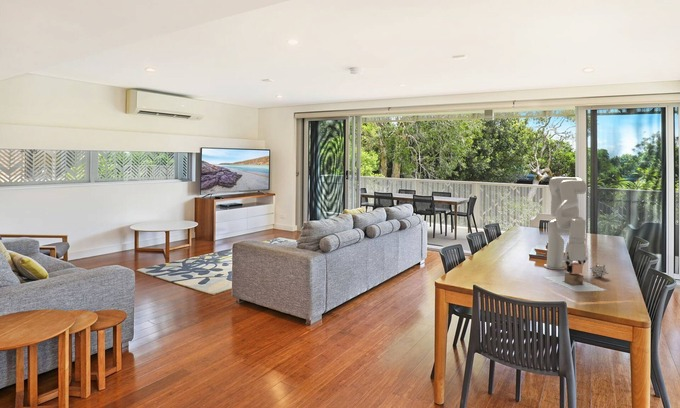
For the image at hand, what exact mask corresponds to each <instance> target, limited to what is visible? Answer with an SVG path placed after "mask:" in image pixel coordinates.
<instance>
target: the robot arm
mask: <svg viewBox="0 0 680 408" xmlns="http://www.w3.org/2000/svg"><path fill="white" fill-rule="evenodd" d="M548 188H549V191H550V195H551V201H550V203H551V204H550V215H551V217H552V218H555V219H551V220H549V221H548V222H547V251H546V253H547V254H546V263H544V264H543V267H544V268H546V269H550V270H554V271H555V270H556V271H557V270H566V273H572V266H571V265H572V263H573V262H577V263H579V264H582V265H583V266H584V265H585V263H586V262H587V261H588V260H589V258H588V257H587V253H586V250H587V249H586V243H585V241H587V239H586V238H585V235H586V219H584V218H583V217H582V216H580V215H579V212H580V211H579V207H578V203H579V200H578V195H584V194H585V193H586V192H587V183H586V182H585V180H583V179H582V178H580V177H573V176H572V177H571V176H570V177H569V176H555V177H552V178H550V179H549V181H548ZM562 236H568V242H567V243H566V245H565V240H564V239H563V237H562Z"/></svg>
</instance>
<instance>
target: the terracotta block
mask: <svg viewBox="0 0 680 408" xmlns="http://www.w3.org/2000/svg"><path fill="white" fill-rule="evenodd" d="M571 266H572V274H580V275H583V268H584V267H583V266H584V265H582V264H579V263H578V262H577V261H573V262H572V265H571Z"/></svg>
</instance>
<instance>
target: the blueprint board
mask: <svg viewBox="0 0 680 408" xmlns="http://www.w3.org/2000/svg"><path fill="white" fill-rule="evenodd" d="M543 278H544V279H547V280H550V281H551V282H554V283H556V284H558V285H561V286H563V287H566V288H568V289H570V290H572V291H574V292H599V291H600V292H601V291H606V289H605V288H602V287H599V286H597V285H595V284H592V283H589V282H587V281H584V280H583V284H581V285H572V284H569V283H567V282H564V280H565V275H563V276H562V275H560V276H543Z"/></svg>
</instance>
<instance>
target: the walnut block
mask: <svg viewBox="0 0 680 408" xmlns="http://www.w3.org/2000/svg"><path fill="white" fill-rule="evenodd" d="M564 276H565V280H564V282H567V283H569V284H572V285H581V284H583V281H584V275H583V274H572V273H569V272H564Z"/></svg>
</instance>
